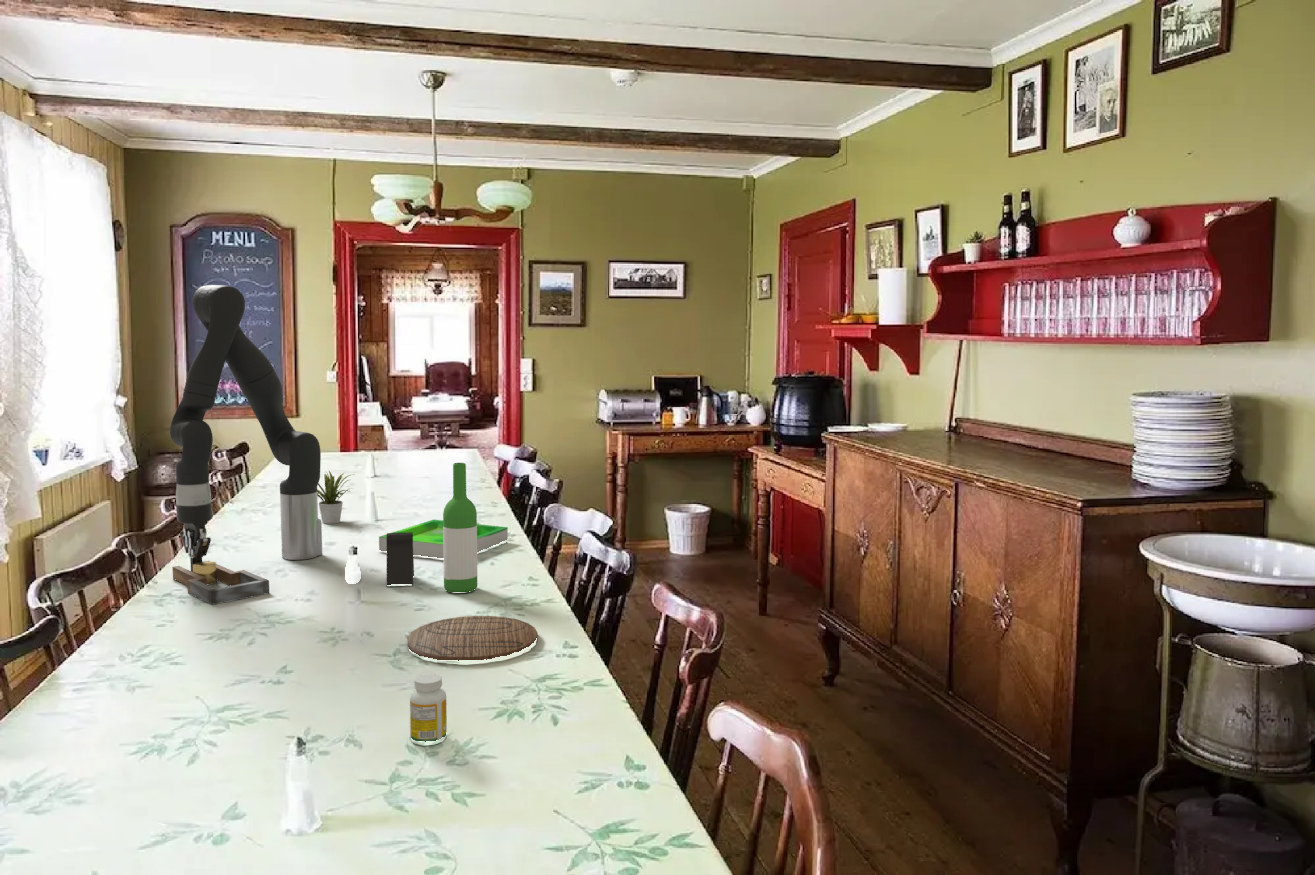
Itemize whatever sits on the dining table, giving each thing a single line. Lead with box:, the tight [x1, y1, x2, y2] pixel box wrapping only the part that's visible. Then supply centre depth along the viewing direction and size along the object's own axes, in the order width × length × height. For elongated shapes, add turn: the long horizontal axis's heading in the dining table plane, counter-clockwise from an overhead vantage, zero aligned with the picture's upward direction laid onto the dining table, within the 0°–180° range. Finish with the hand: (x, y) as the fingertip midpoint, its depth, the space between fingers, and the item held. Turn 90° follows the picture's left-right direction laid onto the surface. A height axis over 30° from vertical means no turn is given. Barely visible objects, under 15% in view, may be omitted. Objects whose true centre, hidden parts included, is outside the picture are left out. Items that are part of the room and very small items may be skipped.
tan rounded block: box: [193, 560, 218, 585], centre depth 227 cm, size 5×5×4 cm
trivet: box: [407, 615, 538, 661], centre depth 188 cm, size 25×25×2 cm
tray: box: [378, 519, 509, 558], centre depth 265 cm, size 25×25×5 cm
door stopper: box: [386, 532, 415, 586], centre depth 230 cm, size 9×6×12 cm, turn 11°
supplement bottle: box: [409, 673, 448, 742], centre depth 144 cm, size 5×5×10 cm
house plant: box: [317, 470, 356, 525], centre depth 295 cm, size 14×14×16 cm
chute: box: [171, 560, 270, 606], centre depth 224 cm, size 13×28×3 cm, turn 47°
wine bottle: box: [442, 462, 478, 593], centre depth 222 cm, size 8×8×30 cm
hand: (196, 572), depth 231 cm, fingers closed
